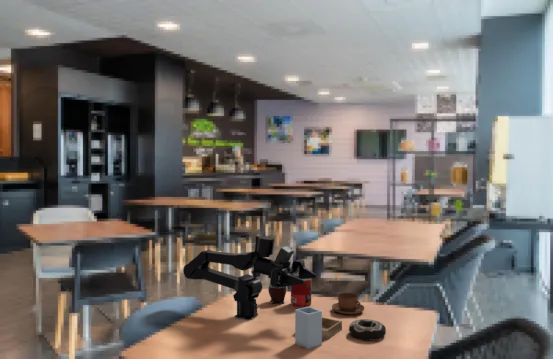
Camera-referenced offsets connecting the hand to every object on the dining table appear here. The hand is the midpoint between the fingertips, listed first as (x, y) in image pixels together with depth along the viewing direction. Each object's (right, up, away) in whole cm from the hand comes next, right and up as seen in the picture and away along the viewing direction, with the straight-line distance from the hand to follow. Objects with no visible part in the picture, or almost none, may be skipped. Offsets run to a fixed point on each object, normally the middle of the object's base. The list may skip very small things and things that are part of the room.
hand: (310, 279), depth 164 cm
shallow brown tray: (+3, -17, -2) cm, 17 cm away
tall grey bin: (-1, -17, -13) cm, 22 cm away
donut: (+18, -17, -5) cm, 26 cm away
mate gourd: (-11, -16, +32) cm, 37 cm away
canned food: (-2, -16, +28) cm, 32 cm away
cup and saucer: (+15, -16, +20) cm, 30 cm away
